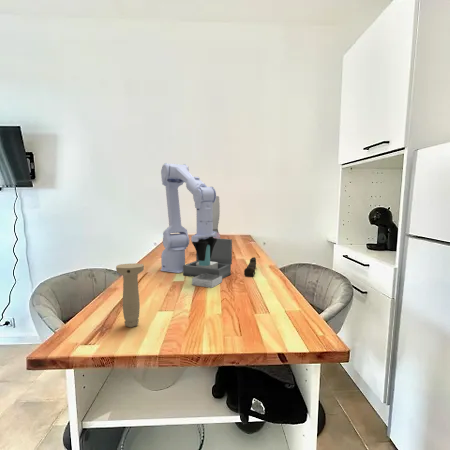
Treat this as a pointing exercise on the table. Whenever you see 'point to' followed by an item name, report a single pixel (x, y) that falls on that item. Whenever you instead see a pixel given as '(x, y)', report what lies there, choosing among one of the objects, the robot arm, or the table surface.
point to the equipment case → (213, 261)
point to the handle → (130, 292)
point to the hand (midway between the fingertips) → (204, 259)
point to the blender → (216, 216)
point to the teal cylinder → (206, 257)
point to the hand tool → (250, 268)
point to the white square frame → (207, 280)
